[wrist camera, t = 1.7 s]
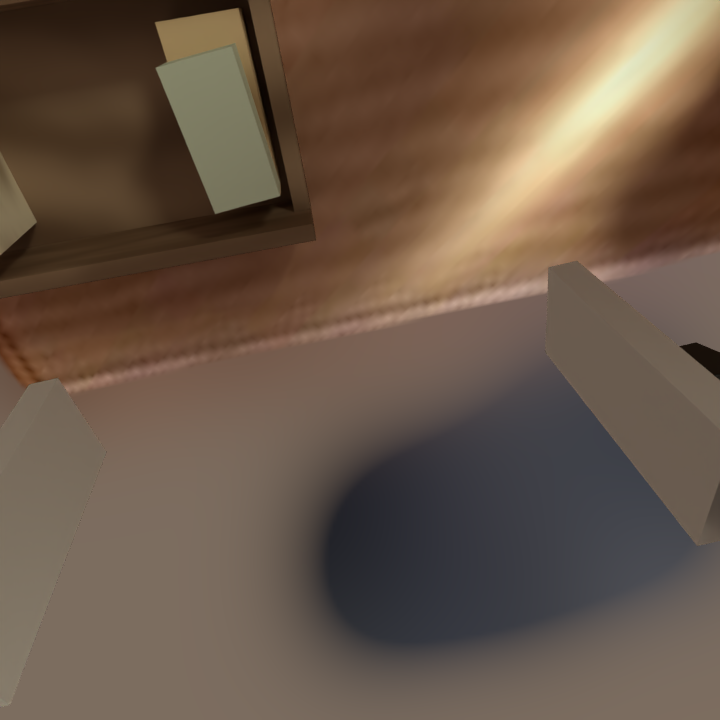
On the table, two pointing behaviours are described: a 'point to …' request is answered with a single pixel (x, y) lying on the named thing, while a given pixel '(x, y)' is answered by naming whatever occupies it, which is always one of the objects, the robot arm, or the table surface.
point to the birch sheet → (12, 209)
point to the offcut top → (221, 127)
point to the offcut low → (211, 34)
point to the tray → (124, 145)
